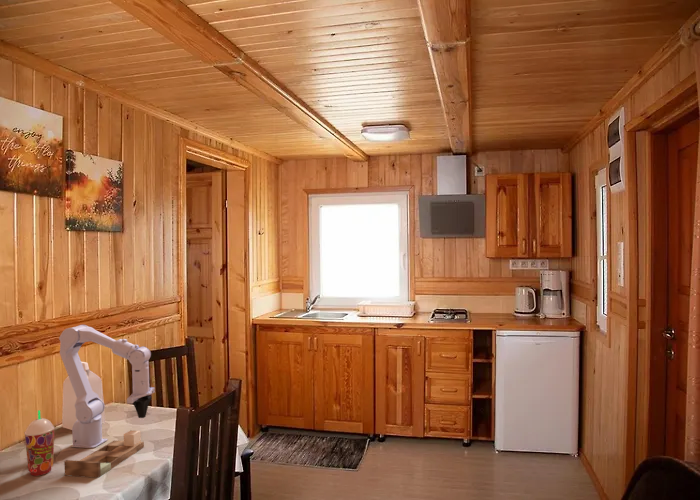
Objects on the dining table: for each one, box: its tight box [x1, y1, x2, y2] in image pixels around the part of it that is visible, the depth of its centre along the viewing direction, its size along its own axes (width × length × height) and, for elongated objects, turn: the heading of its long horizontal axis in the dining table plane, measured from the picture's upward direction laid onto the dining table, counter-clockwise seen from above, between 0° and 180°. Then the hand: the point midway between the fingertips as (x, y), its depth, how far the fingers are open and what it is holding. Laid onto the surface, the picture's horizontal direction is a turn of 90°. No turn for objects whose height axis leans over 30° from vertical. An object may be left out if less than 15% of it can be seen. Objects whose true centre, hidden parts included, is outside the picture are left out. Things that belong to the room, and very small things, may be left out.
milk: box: [61, 361, 107, 431], centre depth 209 cm, size 12×12×26 cm
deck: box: [63, 440, 145, 478], centre depth 171 cm, size 12×24×4 cm, turn 170°
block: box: [123, 429, 142, 446], centre depth 181 cm, size 4×4×4 cm
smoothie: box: [23, 409, 56, 477], centre depth 164 cm, size 8×8×20 cm
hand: (142, 417), depth 187 cm, fingers closed
